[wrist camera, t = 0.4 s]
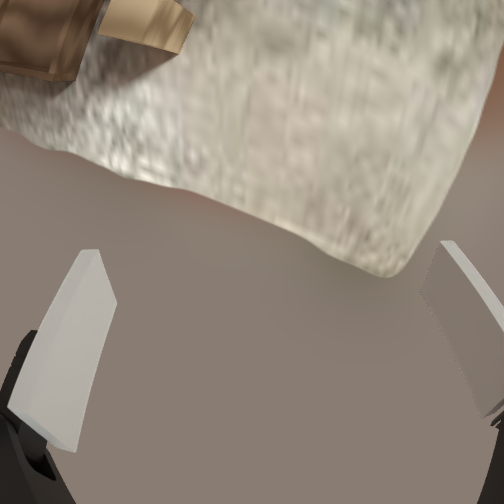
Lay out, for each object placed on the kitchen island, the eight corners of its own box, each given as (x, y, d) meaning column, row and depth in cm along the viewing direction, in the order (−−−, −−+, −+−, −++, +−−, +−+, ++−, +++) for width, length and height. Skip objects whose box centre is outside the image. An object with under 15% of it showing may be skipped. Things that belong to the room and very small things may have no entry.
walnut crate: (24, -33, 21) (4, -37, 17) (123, -40, 23) (104, -51, 19) (-10, 64, 30) (-31, 66, 25) (75, 80, 31) (51, 81, 27)
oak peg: (158, 8, 27) (116, -13, 18) (195, 16, 27) (162, -8, 18) (142, 44, 29) (96, 34, 20) (179, 54, 30) (140, 42, 21)
